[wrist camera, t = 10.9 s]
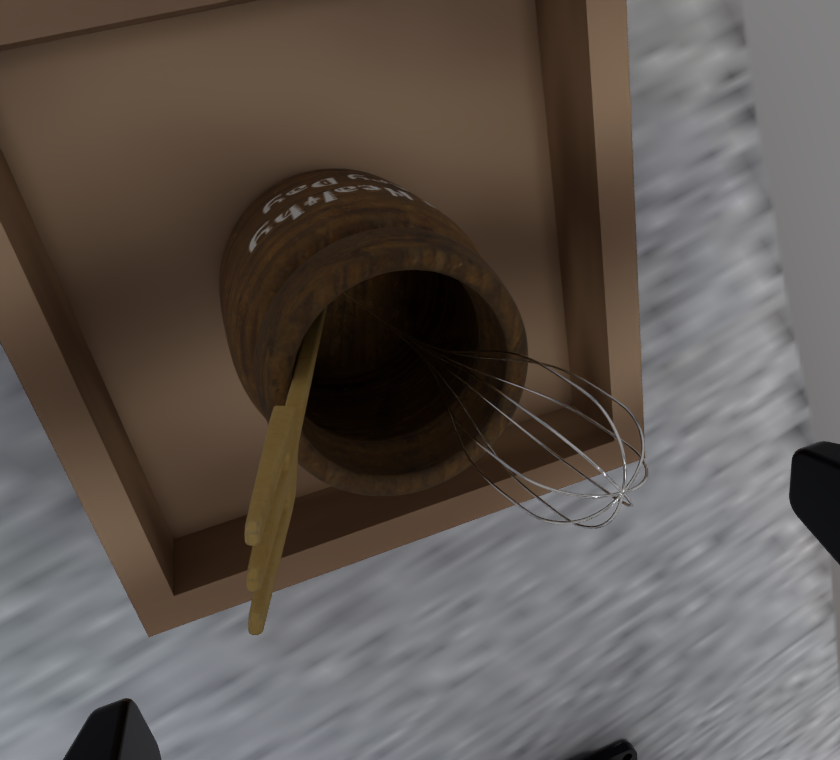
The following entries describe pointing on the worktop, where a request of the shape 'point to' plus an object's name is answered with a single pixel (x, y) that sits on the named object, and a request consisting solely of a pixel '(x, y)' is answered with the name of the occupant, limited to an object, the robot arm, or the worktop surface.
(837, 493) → the robot arm
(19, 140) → the tray
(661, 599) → the worktop surface
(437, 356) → the utensil holder
